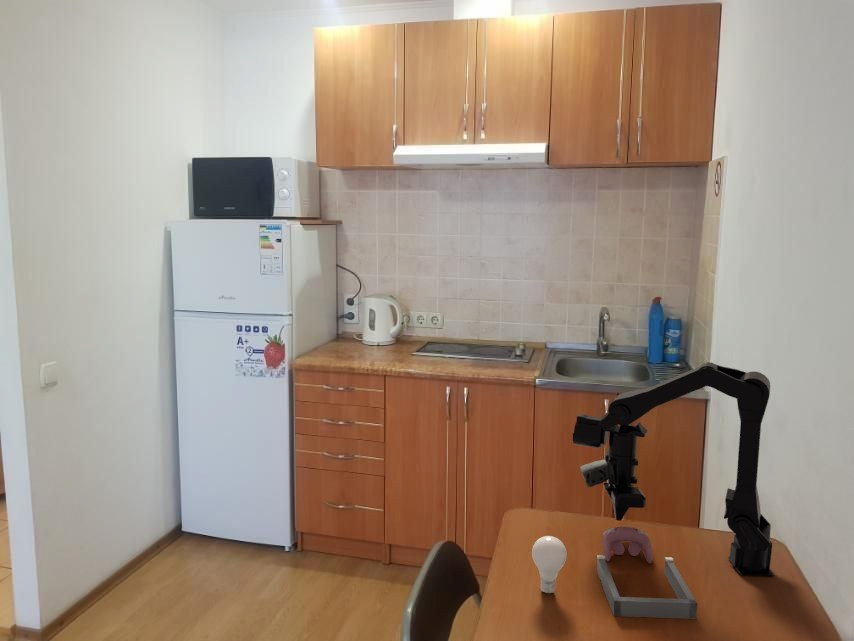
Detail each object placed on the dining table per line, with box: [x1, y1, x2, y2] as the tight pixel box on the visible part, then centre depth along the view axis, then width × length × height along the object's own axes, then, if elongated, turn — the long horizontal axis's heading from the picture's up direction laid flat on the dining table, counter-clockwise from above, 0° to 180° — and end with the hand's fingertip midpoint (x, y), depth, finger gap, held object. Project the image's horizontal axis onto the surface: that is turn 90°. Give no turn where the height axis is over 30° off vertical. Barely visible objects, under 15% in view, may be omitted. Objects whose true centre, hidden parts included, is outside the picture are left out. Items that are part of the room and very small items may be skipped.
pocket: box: [596, 554, 698, 620], centre depth 125 cm, size 15×15×3 cm
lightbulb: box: [531, 535, 568, 594], centre depth 124 cm, size 6×6×11 cm
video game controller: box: [602, 526, 653, 564], centre depth 138 cm, size 10×5×7 cm, turn 85°
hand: (618, 519), depth 146 cm, fingers closed
